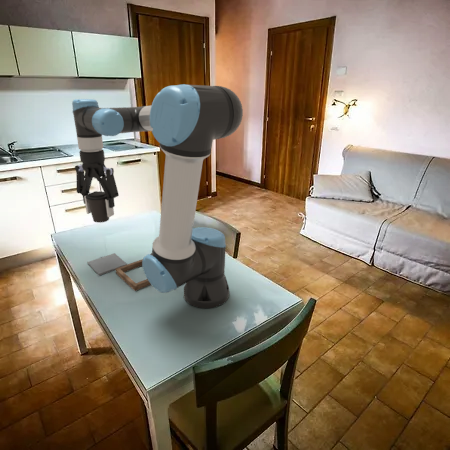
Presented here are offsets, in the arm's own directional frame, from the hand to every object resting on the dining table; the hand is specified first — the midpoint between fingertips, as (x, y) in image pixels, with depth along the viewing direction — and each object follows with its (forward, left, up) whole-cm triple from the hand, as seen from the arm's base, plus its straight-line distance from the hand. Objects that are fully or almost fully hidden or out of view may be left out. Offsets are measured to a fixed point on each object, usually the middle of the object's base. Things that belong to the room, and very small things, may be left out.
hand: (100, 214), depth 113 cm
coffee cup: (0, 0, -2) cm, 2 cm away
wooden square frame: (-15, -7, -21) cm, 27 cm away
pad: (0, 0, -21) cm, 21 cm away
